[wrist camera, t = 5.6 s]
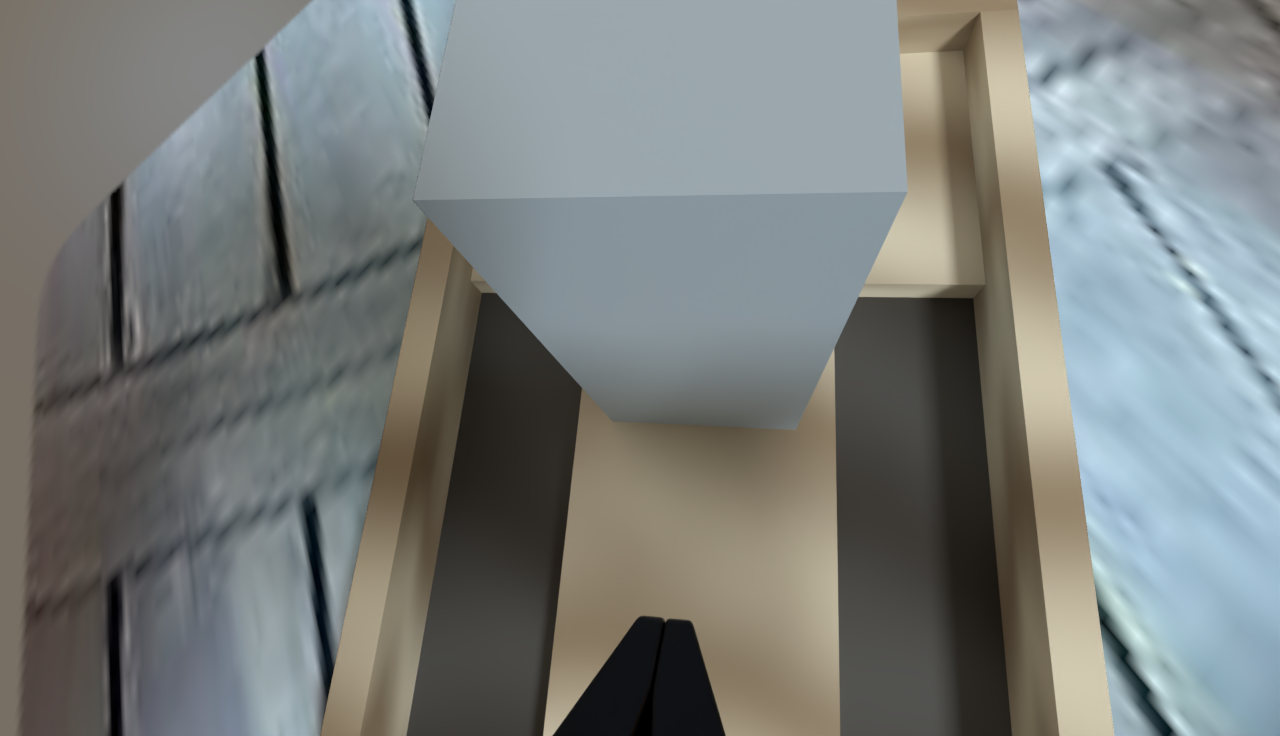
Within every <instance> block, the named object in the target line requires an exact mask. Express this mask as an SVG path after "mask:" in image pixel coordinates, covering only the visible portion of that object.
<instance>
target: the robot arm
mask: <svg viewBox="0 0 1280 736" xmlns="http://www.w3.org/2000/svg"><path fill="white" fill-rule="evenodd" d="M553 736H726V734H725V731H724V728H723V724H722V721H721V717H720V714H719V710H718V707H717V704H716V700H715V697H714V693H713V690H712V686H711V683H710V679H709V676H708V673H707V669H706V666H705V662H704V659H703V655H702V652H701V649H700V645H699V642H698V638H697V635H696V631H695V628H694V625H693V623H692V622H691V621H690V620H684V619H674V618H669V619H667V620H666V622H665V619H663V618H662V617H655V616H645V615H643V616H640V617H638V618H637V619H636V621H635V622H634V623H633V625H632V626H631V627H630V629H629V630H628V632H627V633H626V634H625V636H624V637H623V638H622V640H621V641H620V643H619V644H618V645H617V647H616V648H615V650H614V651H613V652H612V654H611V655H610V657H609V658H608V659H607V661H606V662H605V663H604V665H603V666H602V668H601V669H600V670H599V672H598V673H597V675H596V676H595V677H594V679H593V680H592V682H591V683H590V684H589V686H588V687H587V688H586V690H585V691H584V693H583V694H582V695H581V697H580V698H579V700H578V701H577V702H576V704H575V705H574V706H573V708H572V709H571V711H570V712H569V713H568V715H567V716H566V718H565V719H564V720H563V722H562V723H561V725H560V726H559V727H558V729H557V730H556V731H555V733H554V734H553Z"/></svg>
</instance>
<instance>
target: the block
mask: <svg viewBox="0 0 1280 736" xmlns="http://www.w3.org/2000/svg"><path fill="white" fill-rule="evenodd" d="M907 192H908V187H907V170H906V153H905V136H904V119H903V101H902V84H901V67H900V50H899V33H898V16H897V0H456V2H455V7H454V12H453V16H452V21H451V25H450V30H449V35H448V39H447V44H446V48H445V53H444V58H443V62H442V67H441V71H440V76H439V81H438V85H437V90H436V94H435V99H434V104H433V108H432V113H431V117H430V122H429V127H428V131H427V136H426V140H425V145H424V150H423V154H422V159H421V163H420V168H419V173H418V177H417V182H416V186H415V191H414V196H413V201H414V202H415V204H416V205H417V206H418V207H419V208H420V209H421V210H422V211H423V212H424V214H425V215H426V216H427V217H428V218H429V219H430V220H431V221H432V222H433V224H434V225H435V226H436V227H437V228H438V229H439V230H440V231H441V232H442V233H443V235H444V236H445V237H446V238H447V239H448V240H449V241H450V242H451V243H452V245H453V246H454V247H455V248H456V249H457V250H458V251H459V252H460V253H461V255H462V256H463V257H464V258H465V259H466V260H467V261H468V262H469V263H470V264H471V266H472V267H473V268H474V269H475V270H476V271H477V272H478V273H479V274H480V276H481V277H482V278H483V279H484V280H485V281H486V282H487V283H488V284H489V285H490V287H491V288H492V289H493V290H494V291H495V292H496V293H497V294H498V295H499V297H500V298H501V299H502V300H503V301H504V302H505V303H506V304H507V305H508V307H509V308H510V309H511V310H512V311H513V312H514V313H515V314H516V315H517V316H518V318H519V319H520V320H521V321H522V322H523V323H524V324H525V325H526V326H527V328H528V329H529V330H530V331H531V332H532V333H533V334H534V335H535V336H536V337H537V339H538V340H539V341H540V342H541V343H542V344H543V345H544V346H545V347H546V349H547V350H548V351H549V352H550V353H551V354H552V355H553V356H554V357H555V359H556V360H557V361H558V362H559V363H560V364H561V365H562V366H563V367H564V368H565V370H566V371H567V372H568V373H569V374H570V375H571V376H572V377H573V378H574V380H575V381H576V382H577V383H578V384H579V385H580V386H581V387H582V388H583V389H584V391H585V392H586V393H587V394H588V395H589V396H590V397H591V398H592V399H593V401H594V402H595V403H596V404H597V405H598V406H599V407H600V408H601V409H602V411H603V412H604V413H605V414H606V415H607V416H608V417H609V418H610V419H611V420H612V421H617V422H638V423H659V424H681V425H702V426H723V427H744V428H766V429H787V430H796V428H797V426H798V424H799V422H800V420H801V418H802V416H803V413H804V411H805V409H806V407H807V405H808V403H809V401H810V399H811V396H812V394H813V392H814V390H815V388H816V386H817V384H818V381H819V379H820V377H821V375H822V373H823V371H824V369H825V367H826V364H827V362H828V360H829V358H830V356H831V354H832V352H833V350H834V347H835V345H836V343H837V341H838V339H839V337H840V335H841V333H842V330H843V328H844V326H845V324H846V322H847V320H848V318H849V316H850V313H851V311H852V309H853V307H854V305H855V303H856V301H857V299H858V296H859V294H860V292H861V290H862V288H863V286H864V284H865V282H866V279H867V277H868V275H869V273H870V271H871V269H872V267H873V265H874V262H875V260H876V258H877V256H878V254H879V252H880V250H881V248H882V245H883V243H884V241H885V239H886V237H887V235H888V233H889V231H890V228H891V226H892V224H893V222H894V220H895V218H896V216H897V214H898V211H899V209H900V207H901V205H902V203H903V201H904V199H905V197H906V194H907Z"/></svg>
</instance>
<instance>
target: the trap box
mask: <svg viewBox="0 0 1280 736" xmlns="http://www.w3.org/2000/svg"><path fill="white" fill-rule="evenodd" d="M897 16H898V33H899V50H900V67H901V84H902V101H903V119H904V136H905V153H906V170H907V187H908V192H907V194H906V197H905V199H904V201H903V203H902V205H901V207H900V209H899V211H898V214H897V216H896V218H895V220H894V222H893V224H892V226H891V228H890V231H889V233H888V235H887V237H886V239H885V241H884V243H883V245H882V248H881V250H880V252H879V254H878V256H877V258H876V260H875V262H874V265H873V267H872V269H871V271H870V273H869V275H868V277H867V279H866V282H865V284H864V286H863V288H862V290H861V292H860V294H859V296H858V299H857V301H856V303H855V305H854V307H853V309H852V311H851V313H850V316H849V318H848V320H847V322H846V324H845V326H844V328H843V330H842V333H841V335H840V337H839V339H838V341H837V343H836V345H835V347H834V350H833V352H832V354H831V356H830V358H829V360H828V362H827V364H826V367H825V369H824V371H823V373H822V375H821V377H820V379H819V381H818V384H817V386H816V388H815V390H814V392H813V394H812V396H811V399H810V401H809V403H808V405H807V407H806V409H805V411H804V413H803V416H802V418H801V420H800V422H799V424H798V426H797V428H796V430H787V429H766V428H744V427H723V426H702V425H681V424H659V423H638V422H617V421H612V420H611V419H610V418H609V417H608V416H607V415H606V414H605V413H604V412H603V411H602V409H601V408H600V407H599V406H598V405H597V404H596V403H595V402H594V401H593V399H592V398H591V397H590V396H589V395H588V394H587V393H586V392H585V391H584V389H583V388H582V387H581V386H580V385H579V384H578V383H577V382H576V381H575V380H574V378H573V377H572V376H571V375H570V374H569V373H568V372H567V371H566V370H565V368H564V367H563V366H562V365H561V364H560V363H559V362H558V361H557V360H556V359H555V357H554V356H553V355H552V354H551V353H550V352H549V351H548V350H547V349H546V347H545V346H544V345H543V344H542V343H541V342H540V341H539V340H538V339H537V337H536V336H535V335H534V334H533V333H532V332H531V331H530V330H529V329H528V328H527V326H526V325H525V324H524V323H523V322H522V321H521V320H520V319H519V318H518V316H517V315H516V314H515V313H514V312H513V311H512V310H511V309H510V308H509V307H508V305H507V304H506V303H505V302H504V301H503V300H502V299H501V298H500V297H499V295H498V294H497V293H496V292H495V291H494V290H493V289H492V288H491V287H490V285H489V284H488V283H487V282H486V281H485V280H484V279H483V278H482V277H481V276H480V274H479V273H478V272H477V271H476V270H475V269H474V268H473V267H472V266H471V264H470V263H469V262H468V261H467V260H466V259H465V258H464V257H463V256H462V255H461V253H460V252H459V251H458V250H457V249H456V248H455V247H454V246H453V245H452V243H451V242H450V241H449V240H448V239H447V238H446V237H445V236H444V235H443V233H442V232H441V231H440V230H439V229H438V228H437V227H436V226H435V225H434V224H433V222H432V221H431V220H430V219H429V218H428V219H427V224H426V229H425V234H424V238H423V243H422V248H421V253H420V258H419V263H418V267H417V272H416V277H415V282H414V287H413V291H412V296H411V301H410V306H409V311H408V316H407V320H406V325H405V330H404V335H403V340H402V344H401V349H400V354H399V359H398V364H397V369H396V373H395V378H394V383H393V388H392V393H391V397H390V402H389V407H388V412H387V417H386V422H385V426H384V431H383V436H382V441H381V446H380V450H379V455H378V460H377V465H376V470H375V475H374V479H373V484H372V489H371V494H370V499H369V503H368V508H367V513H366V518H365V523H364V528H363V532H362V537H361V542H360V547H359V552H358V556H357V561H356V566H355V571H354V576H353V581H352V585H351V590H350V595H349V600H348V605H347V610H346V614H345V619H344V624H343V629H342V634H341V638H340V643H339V648H338V653H337V658H336V663H335V667H334V672H333V677H332V682H331V687H330V691H329V696H328V701H327V706H326V711H325V716H324V720H323V725H322V730H321V735H320V736H553V734H554V733H555V731H556V730H557V729H558V727H559V726H560V725H561V723H562V722H563V720H564V719H565V718H566V716H567V715H568V713H569V712H570V711H571V709H572V708H573V706H574V705H575V704H576V702H577V701H578V700H579V698H580V697H581V695H582V694H583V693H584V691H585V690H586V688H587V687H588V686H589V684H590V683H591V682H592V680H593V679H594V677H595V676H596V675H597V673H598V672H599V670H600V669H601V668H602V666H603V665H604V663H605V662H606V661H607V659H608V658H609V657H610V655H611V654H612V652H613V651H614V650H615V648H616V647H617V645H618V644H619V643H620V641H621V640H622V638H623V637H624V636H625V634H626V633H627V632H628V630H629V629H630V627H631V626H632V625H633V623H634V622H635V621H636V619H637V618H638V617H640V616H643V615H645V616H655V617H662V618H663V619H665V622H666V620H667V619H669V618H674V619H684V620H690V621H691V622H692V623H693V625H694V628H695V631H696V635H697V638H698V642H699V645H700V649H701V652H702V655H703V659H704V662H705V666H706V669H707V673H708V676H709V679H710V683H711V686H712V690H713V693H714V697H715V700H716V704H717V707H718V710H719V714H720V717H721V721H722V724H723V728H724V731H725V734H726V736H1114V728H1113V721H1112V713H1111V706H1110V698H1109V691H1108V683H1107V676H1106V668H1105V661H1104V653H1103V646H1102V638H1101V630H1100V623H1099V615H1098V608H1097V600H1096V593H1095V585H1094V578H1093V570H1092V563H1091V555H1090V548H1089V540H1088V532H1087V525H1086V517H1085V510H1084V502H1083V495H1082V487H1081V480H1080V472H1079V465H1078V457H1077V450H1076V442H1075V435H1074V427H1073V419H1072V412H1071V404H1070V397H1069V389H1068V382H1067V374H1066V367H1065V359H1064V352H1063V344H1062V337H1061V329H1060V321H1059V314H1058V306H1057V299H1056V291H1055V284H1054V276H1053V269H1052V261H1051V254H1050V246H1049V239H1048V231H1047V223H1046V216H1045V208H1044V201H1043V193H1042V186H1041V178H1040V171H1039V163H1038V156H1037V148H1036V141H1035V133H1034V126H1033V118H1032V110H1031V103H1030V95H1029V88H1028V80H1027V73H1026V65H1025V58H1024V50H1023V43H1022V35H1021V28H1020V20H1019V12H1018V5H1017V0H897Z"/></svg>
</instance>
